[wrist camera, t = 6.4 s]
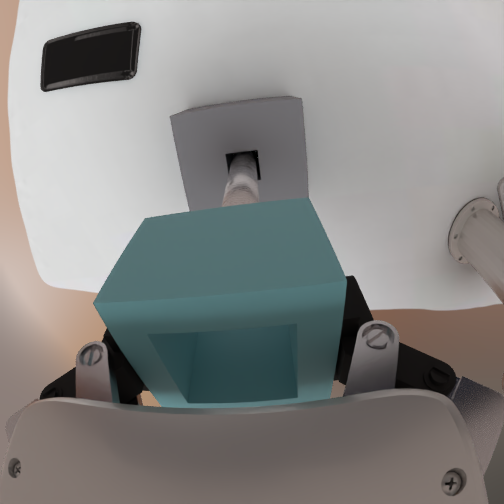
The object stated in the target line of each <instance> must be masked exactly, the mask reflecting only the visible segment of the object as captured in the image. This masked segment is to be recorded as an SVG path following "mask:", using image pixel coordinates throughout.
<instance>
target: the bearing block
mask: <svg viewBox="0 0 504 504" xmlns="http://www.w3.org/2000/svg"><path fill="white" fill-rule="evenodd" d="M170 120H171V125H172V130H173V136H174V141H175V146H176V151H177V155H178V160H179V165H180V170H181V174H182V179H183V184H184V188H185V193H186V197H187V201H188V206H189V210H190V211H197V210H204V209H211V208H219V207H222V203H223V198H224V193H225V189H226V184H227V180H228V175H229V171H230V166H231V162H232V158H233V153H235V152H243V151H251V150H257V151H258V159H259V160H256V169H257V180H258V192H259V202H268V201H277V200H287V199H297V198H307V197H309V193H308V173H307V156H306V142H305V129H304V117H303V106H302V99H301V98H296V97H292V96H284V97H272V98H261V99H252V100H244V101H236V102H229V103H222V104H216V105H210V106H204V107H198V108H193V109H188V110H185V111H182V112H180V113H177V114H175V115H172V116H170Z"/></svg>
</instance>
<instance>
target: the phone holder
mask: <svg viewBox="0 0 504 504" xmlns="http://www.w3.org/2000/svg"><path fill="white" fill-rule="evenodd" d="M497 190H498V195H499V199H500V204H501V209H502V214H503V219H504V178H502V179H501V180H500V182H499V183H498V187H497Z"/></svg>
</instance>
